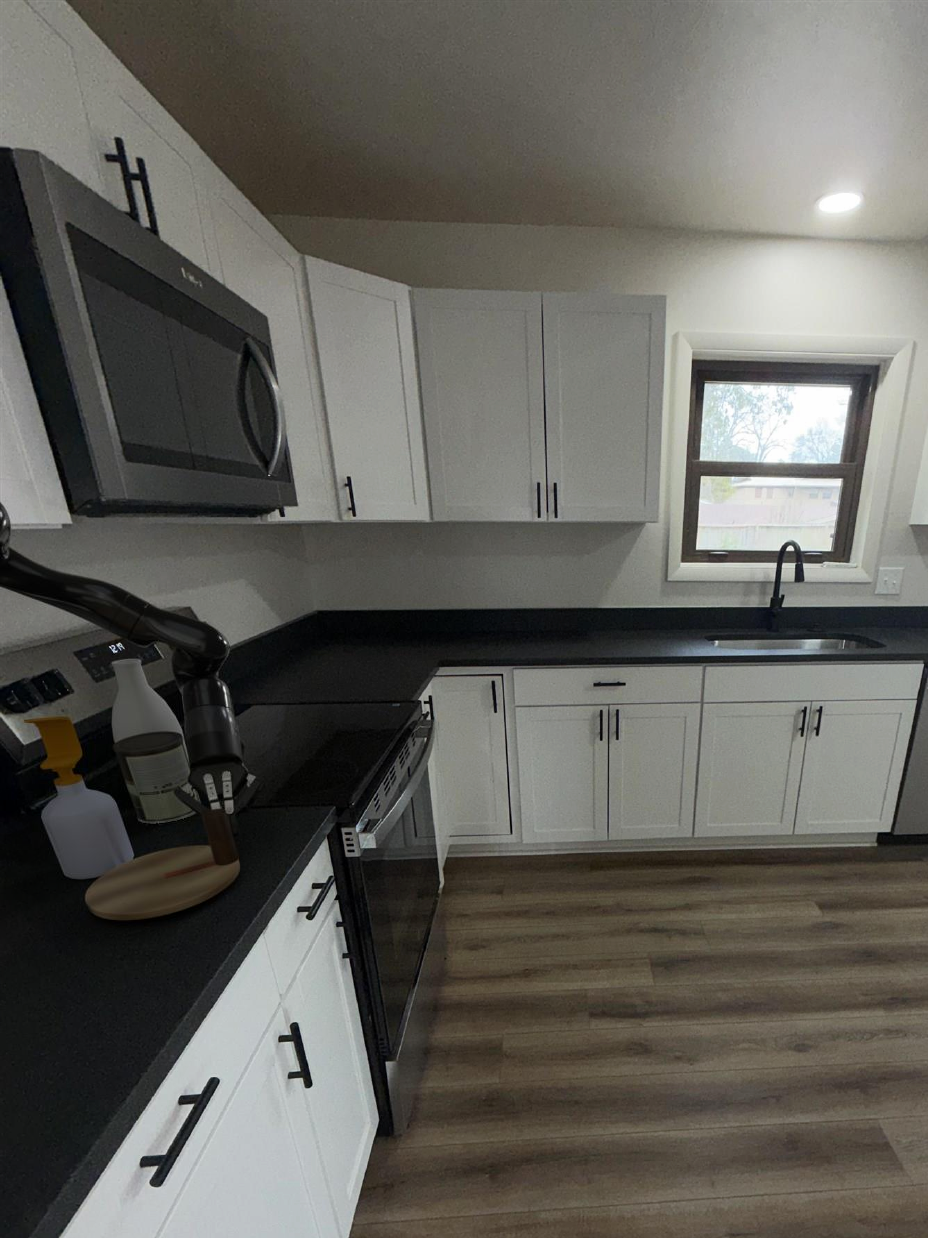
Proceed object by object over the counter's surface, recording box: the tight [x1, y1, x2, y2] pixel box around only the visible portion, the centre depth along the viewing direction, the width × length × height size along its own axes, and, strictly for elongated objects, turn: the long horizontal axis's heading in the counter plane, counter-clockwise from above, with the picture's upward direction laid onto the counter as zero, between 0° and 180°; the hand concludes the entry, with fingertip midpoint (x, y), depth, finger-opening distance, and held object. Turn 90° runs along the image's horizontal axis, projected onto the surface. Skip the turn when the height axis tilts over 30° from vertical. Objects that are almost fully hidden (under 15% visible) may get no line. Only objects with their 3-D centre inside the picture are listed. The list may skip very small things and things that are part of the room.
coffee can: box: [112, 731, 202, 825], centre depth 115 cm, size 10×10×14 cm
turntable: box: [84, 808, 241, 921], centre depth 92 cm, size 19×19×9 cm
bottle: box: [110, 658, 189, 761], centre depth 123 cm, size 11×11×25 cm
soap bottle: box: [23, 716, 135, 880], centre depth 95 cm, size 9×9×25 cm
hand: (228, 839), depth 99 cm, fingers closed
